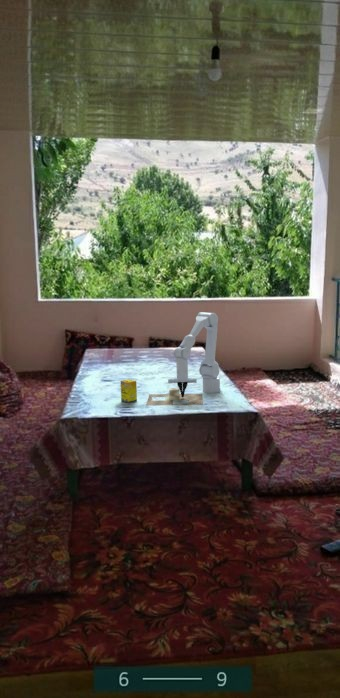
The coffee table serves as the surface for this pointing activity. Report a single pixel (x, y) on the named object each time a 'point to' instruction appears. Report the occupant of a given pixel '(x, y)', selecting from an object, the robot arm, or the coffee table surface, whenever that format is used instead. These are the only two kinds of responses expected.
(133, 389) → the supplement box
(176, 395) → the block
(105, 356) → the coffee table surface
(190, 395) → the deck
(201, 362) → the robot arm
